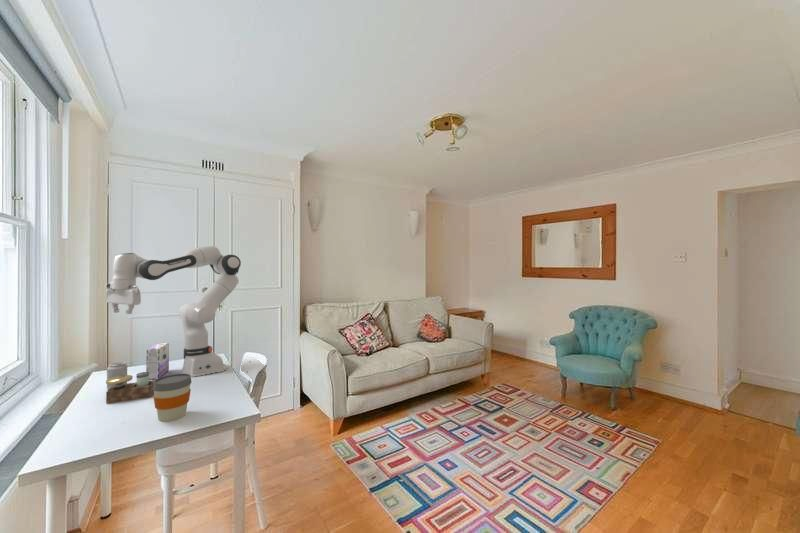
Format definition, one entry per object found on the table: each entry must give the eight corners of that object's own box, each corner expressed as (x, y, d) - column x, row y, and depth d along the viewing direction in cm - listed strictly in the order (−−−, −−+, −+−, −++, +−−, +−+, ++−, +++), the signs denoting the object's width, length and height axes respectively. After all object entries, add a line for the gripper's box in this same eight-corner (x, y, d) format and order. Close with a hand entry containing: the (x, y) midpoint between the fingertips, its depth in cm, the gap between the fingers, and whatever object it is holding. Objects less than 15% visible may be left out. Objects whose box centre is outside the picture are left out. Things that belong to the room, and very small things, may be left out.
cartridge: (149, 392, 149) (150, 371, 149) (147, 395, 145) (147, 374, 145) (137, 394, 147) (137, 372, 147) (134, 397, 143) (135, 375, 143)
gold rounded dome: (134, 386, 148) (135, 373, 148) (129, 393, 140) (129, 379, 140) (109, 390, 144) (109, 377, 144) (102, 397, 136) (102, 383, 136)
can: (131, 385, 158) (131, 361, 158) (116, 391, 151) (116, 366, 151) (117, 384, 159) (118, 360, 159) (102, 390, 151) (102, 365, 152)
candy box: (157, 372, 179) (157, 343, 179) (169, 371, 180) (169, 342, 180) (145, 380, 165) (146, 348, 166) (158, 379, 167) (159, 348, 167)
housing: (155, 390, 152) (155, 379, 152) (151, 396, 144) (151, 385, 144) (113, 396, 145) (113, 385, 145) (106, 403, 137) (106, 392, 137)
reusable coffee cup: (185, 406, 134) (185, 371, 134) (195, 415, 126) (196, 377, 126) (148, 417, 124) (148, 379, 125) (157, 427, 116) (157, 386, 117)
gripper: (145, 285, 156) (144, 313, 156) (117, 284, 163) (116, 311, 162) (131, 286, 150) (129, 315, 150) (103, 284, 157) (101, 312, 156)
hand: (122, 313), depth 156 cm, fingers open, 8 cm apart
